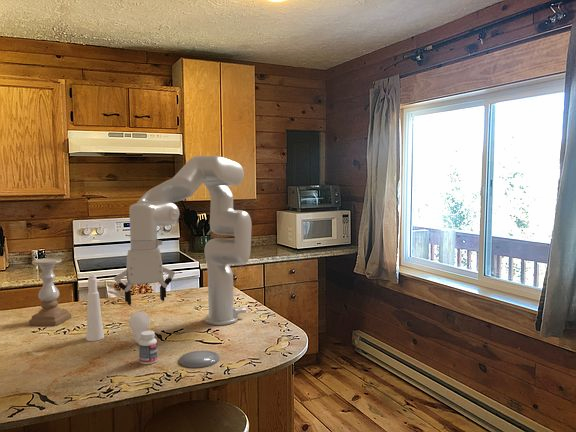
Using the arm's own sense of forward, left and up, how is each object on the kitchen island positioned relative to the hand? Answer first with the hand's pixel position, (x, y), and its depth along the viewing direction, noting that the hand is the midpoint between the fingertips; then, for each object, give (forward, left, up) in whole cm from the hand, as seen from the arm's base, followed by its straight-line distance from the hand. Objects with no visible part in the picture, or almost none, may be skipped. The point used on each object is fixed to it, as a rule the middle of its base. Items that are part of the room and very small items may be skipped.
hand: (146, 301), depth 144 cm
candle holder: (+27, -57, -19) cm, 66 cm away
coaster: (-14, +6, -18) cm, 24 cm away
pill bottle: (0, 0, -19) cm, 19 cm away
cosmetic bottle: (+13, -29, -19) cm, 37 cm away
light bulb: (0, -16, -19) cm, 24 cm away
